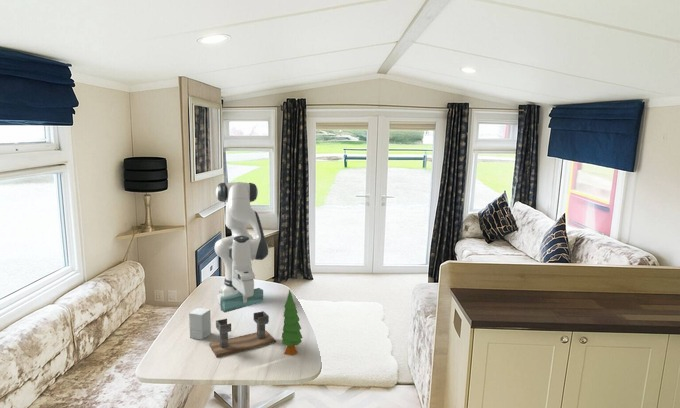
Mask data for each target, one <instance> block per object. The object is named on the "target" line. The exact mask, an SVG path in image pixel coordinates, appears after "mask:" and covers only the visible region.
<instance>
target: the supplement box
mask: <svg viewBox="0 0 680 408" xmlns="http://www.w3.org/2000/svg"><path fill="white" fill-rule="evenodd" d="M188 318H189V320H188V321H189V338H190V339H196V340H200V341H201V340H204V339H206V338H208V336H210V335H211V334H212V323H211V321H212V320H211V309H208V308H201V307H197V308H196V309H193V310H191V312H189V313H188Z"/></svg>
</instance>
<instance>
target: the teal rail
mask: <svg viewBox="0 0 680 408" xmlns="http://www.w3.org/2000/svg"><path fill="white" fill-rule="evenodd" d="M242 298H243V294H242V293H236V294H232V295H228V296H224V297H220V304H219V305H220V311H221V312H222V313H225V314H226V313H229V312H233V311H235V310H240V309H243V308H247V307H251V306H255V305H257V304H261V303H264V289H262V288H260V287H257V288H256V287H255V288H254V294H253V296H251V297H247V302H246V303H243V302H242Z"/></svg>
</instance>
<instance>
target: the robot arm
mask: <svg viewBox="0 0 680 408" xmlns="http://www.w3.org/2000/svg"><path fill="white" fill-rule="evenodd" d="M258 195H259V190H258V187H257V185H256V183H253V182H249V183H248V182H241V181H237V182H235V181H233V182H232V181H231V182H219V183H218V184H217V186H216V189H215V196H216V198H217V200H218V201H219V202H221V203H225V212H224V213H225V214H224V215H225V217H224V219H225V221H224V222H225V226H226V228H228V230H230V231H231V235H230V236H226V237H222V238H220V239H218V240H217V241H216V242H215V243H214V252H215V254H216V255H217V256H218V257H219V258H221V260H222V262H223V264H224V272H225V274H224V275H225V276H224V282H223V285H222V286H221V287H220V288H221V289H218V294H217V295H216V297H217V300H218V303H219V305H220V297H224V296H228V295H232V294H236V293H242V294H243V298H242V302H243V303H246V302H247V297H251V296H253V294H254V289H255V281H254V280H255V279H256V274H255V272H254V271H253V266H252V265H253V264H252V260H257V261H259V260H260V261H262V260H264V259H265V258H267V256H268V255H269V252H270V251H269V249H270V248H269V245H268V243H267V240H266V236H265V233H264V229H263V227H262V223H261V219H260V217H259V214H258V212H257V211H256V210H254V209H253V208H252V206H251V203H253V202H255V201H256V200H257V198H258ZM246 224H247V225H250V226H251V227H252V229H253V232H254V236H255V239H254V237H253V236H252V234H250V233H249V232H248V228H247V225H246Z"/></svg>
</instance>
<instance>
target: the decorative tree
mask: <svg viewBox="0 0 680 408" xmlns="http://www.w3.org/2000/svg"><path fill="white" fill-rule="evenodd" d="M283 308H284V311H283V327H282V333H281V338H282V339H281V340H282V341H281V344H282V345H284V346H286V348H285V351H284V353H283V355H286V356H287V355H288V356H295V355H297V354H298V353H299V352H298V350H297V349H296V346H299V345H300V344H301V343H302V339H303V335H302V333H301V330H302V326H301V324H300V320H301V319H300V317H299V316H298V312H299V311H298V310H297V306H296V304H295V301H294V297H293V294H292V291H291V289H288V294H287V298H286V301H285V303H284V307H283Z"/></svg>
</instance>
